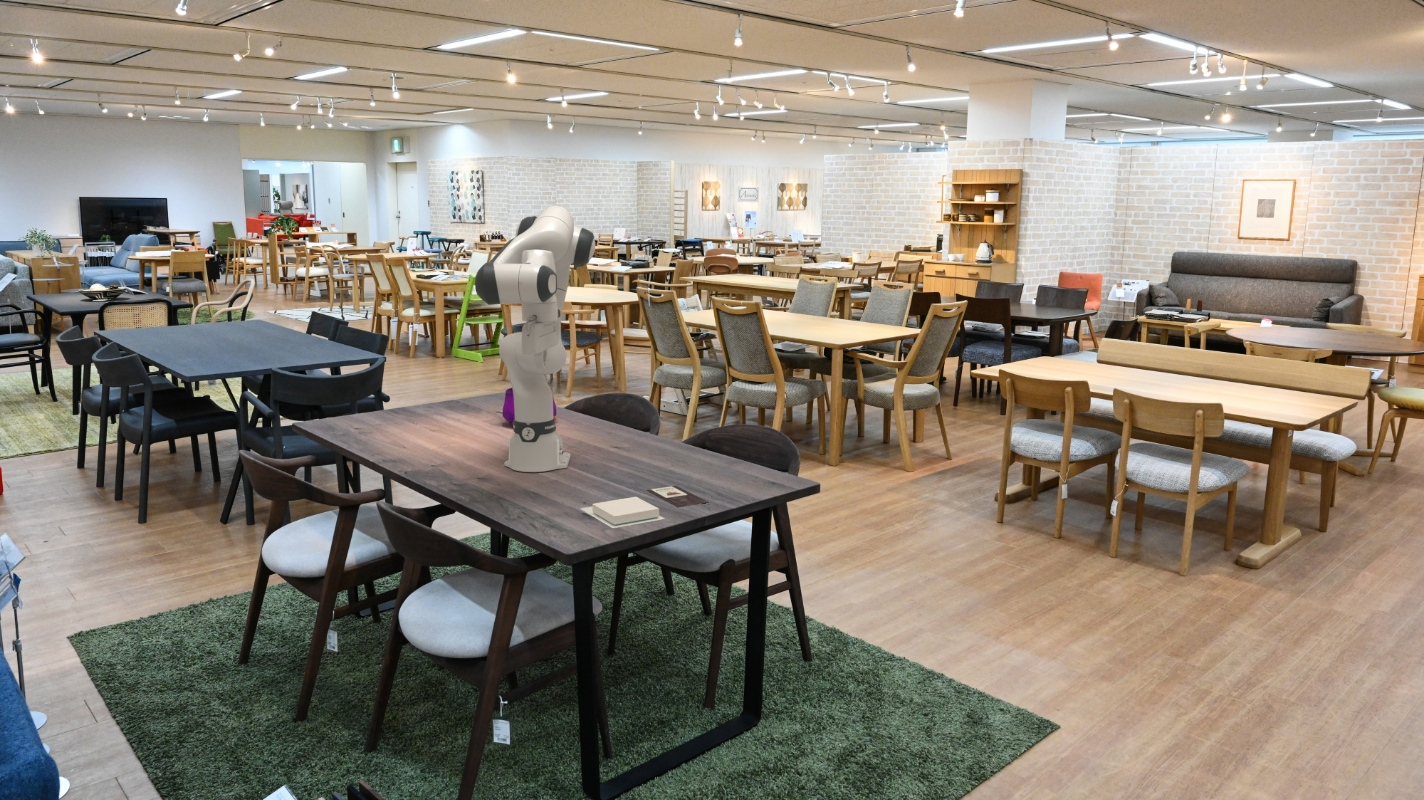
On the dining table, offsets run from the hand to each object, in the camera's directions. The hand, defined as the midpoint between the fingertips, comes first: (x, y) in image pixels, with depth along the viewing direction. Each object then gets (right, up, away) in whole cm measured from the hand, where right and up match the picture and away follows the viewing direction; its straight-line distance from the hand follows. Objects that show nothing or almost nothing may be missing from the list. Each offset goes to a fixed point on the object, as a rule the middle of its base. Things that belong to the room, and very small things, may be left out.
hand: (541, 367), depth 249 cm
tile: (+19, -34, -6) cm, 40 cm away
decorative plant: (-21, -17, +95) cm, 99 cm away
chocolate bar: (+34, -34, +6) cm, 49 cm away
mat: (+21, -37, -9) cm, 43 cm away
